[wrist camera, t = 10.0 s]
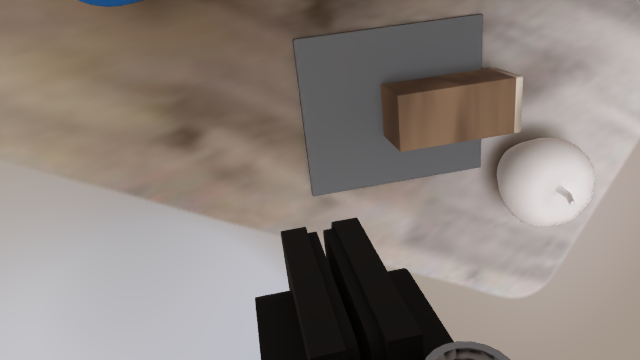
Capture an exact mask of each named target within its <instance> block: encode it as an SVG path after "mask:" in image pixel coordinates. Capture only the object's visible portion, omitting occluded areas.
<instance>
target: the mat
mask: <svg viewBox="0 0 640 360" xmlns="http://www.w3.org/2000/svg"><path fill="white" fill-rule="evenodd" d="M482 24H483V14H477V15H469V16H462V17H454V18H447V19H440V20H432V21H425V22H417V23H410V24H403V25H395V26H388V27H381V28H373V29H366V30H358V31H351V32H344V33H336V34H329V35H321V36H314V37H307V38H299V39H293V46H294V54H295V62H296V70H297V78H298V86H299V94H300V102H301V109H302V117H303V125H304V133H305V141H306V149H307V157H308V165H309V173H310V180H311V188H312V195H313V196H318V195H324V194H329V193H335V192H341V191H346V190H352V189H358V188H364V187H369V186H375V185H381V184H387V183H392V182H398V181H404V180H409V179H415V178H421V177H427V176H432V175H438V174H444V173H450V172H455V171H461V170H467V169H472V168H478V167H481V139H476V140H470V141H464V142H458V143H452V144H446V145H440V146H434V147H428V148H422V149H416V150H410V151H404V152H400V151H399V150H398V149H397V148H396V147H395V146H394V145H393V144H392V143H391V142H390V141H389V140H388V139H386V138H385V137H384V131H383V115H382V100H381V84H387V83H394V82H401V81H407V80H414V79H421V78H427V77H434V76H441V75H447V74H454V73H461V72H467V71H474V70H481V69H482Z"/></svg>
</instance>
